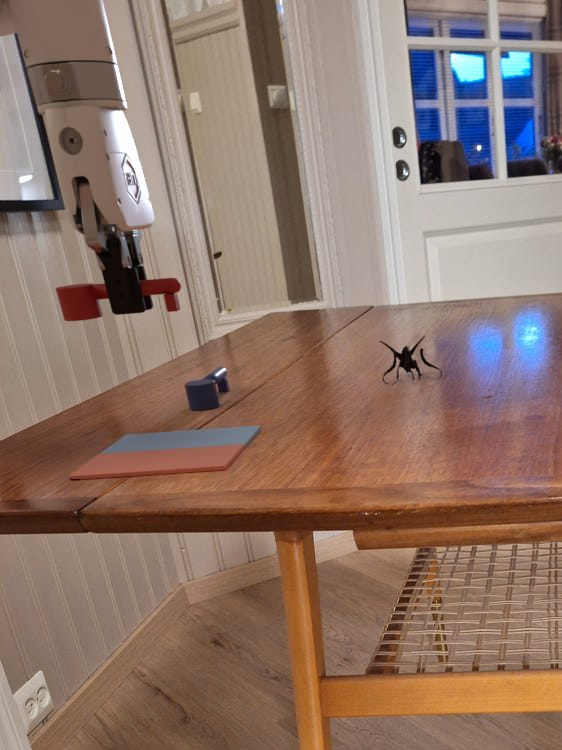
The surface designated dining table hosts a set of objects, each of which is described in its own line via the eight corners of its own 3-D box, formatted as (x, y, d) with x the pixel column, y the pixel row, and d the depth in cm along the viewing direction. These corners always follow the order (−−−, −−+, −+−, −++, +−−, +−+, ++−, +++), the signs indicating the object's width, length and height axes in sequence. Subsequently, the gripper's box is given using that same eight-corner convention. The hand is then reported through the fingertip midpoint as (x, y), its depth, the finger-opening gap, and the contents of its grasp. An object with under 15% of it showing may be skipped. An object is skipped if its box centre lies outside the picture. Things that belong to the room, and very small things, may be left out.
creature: (447, 389, 111) (432, 364, 117) (446, 348, 108) (431, 325, 113) (387, 396, 110) (375, 371, 115) (384, 355, 106) (372, 332, 112)
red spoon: (58, 322, 84) (49, 289, 83) (73, 317, 87) (64, 285, 86) (180, 312, 84) (173, 279, 82) (191, 307, 87) (184, 275, 86)
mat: (69, 480, 82) (68, 476, 82) (126, 438, 95) (125, 434, 95) (225, 469, 81) (224, 465, 81) (261, 428, 95) (260, 425, 94)
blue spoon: (215, 409, 105) (210, 384, 103) (186, 411, 105) (180, 386, 104) (239, 388, 115) (235, 365, 114) (213, 390, 116) (208, 366, 114)
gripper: (87, 80, 70) (146, 320, 79) (149, 96, 84) (193, 299, 92) (-5, 88, 70) (64, 327, 79) (72, 103, 84) (123, 304, 92)
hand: (133, 310), depth 85 cm, fingers closed on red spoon, 1 cm apart
